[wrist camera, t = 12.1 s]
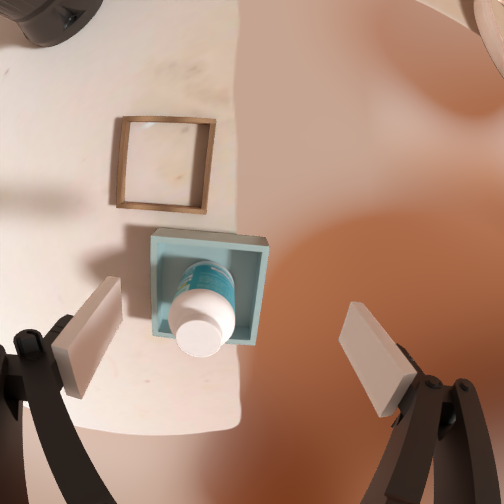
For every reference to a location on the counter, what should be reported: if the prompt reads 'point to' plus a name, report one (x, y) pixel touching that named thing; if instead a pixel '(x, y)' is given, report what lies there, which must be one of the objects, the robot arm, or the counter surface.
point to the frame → (123, 160)
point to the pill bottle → (203, 309)
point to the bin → (216, 250)
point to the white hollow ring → (490, 32)
